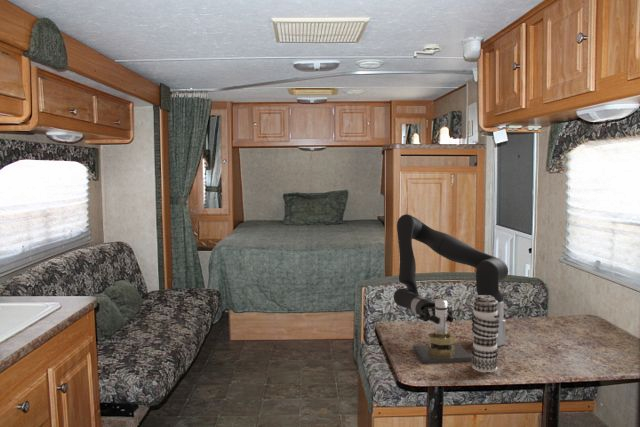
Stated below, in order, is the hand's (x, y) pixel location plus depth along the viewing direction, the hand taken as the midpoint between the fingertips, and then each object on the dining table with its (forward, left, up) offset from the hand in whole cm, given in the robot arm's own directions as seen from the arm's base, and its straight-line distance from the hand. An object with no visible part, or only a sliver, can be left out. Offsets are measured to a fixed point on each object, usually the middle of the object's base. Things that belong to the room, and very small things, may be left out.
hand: (445, 320), depth 182 cm
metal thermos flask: (+1, -3, -12) cm, 13 cm away
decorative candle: (-11, +10, -14) cm, 20 cm away
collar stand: (0, -3, -14) cm, 14 cm away
